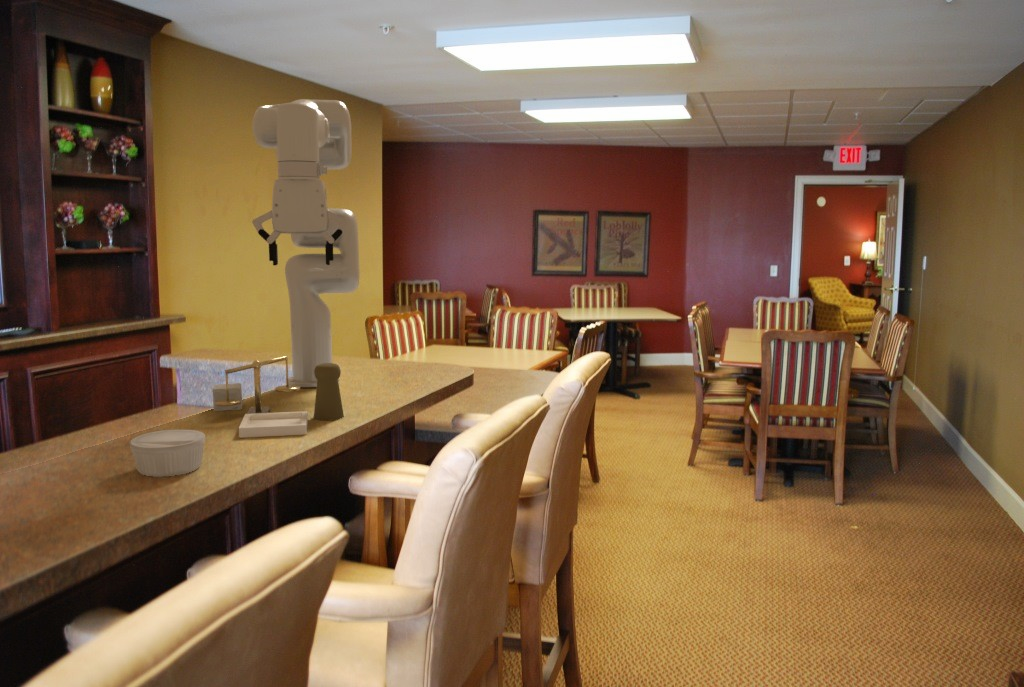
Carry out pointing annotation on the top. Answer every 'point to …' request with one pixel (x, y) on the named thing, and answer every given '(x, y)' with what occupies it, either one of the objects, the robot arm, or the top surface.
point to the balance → (257, 386)
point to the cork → (328, 392)
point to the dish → (274, 424)
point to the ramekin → (168, 452)
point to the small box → (220, 394)
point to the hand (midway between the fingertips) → (301, 264)
